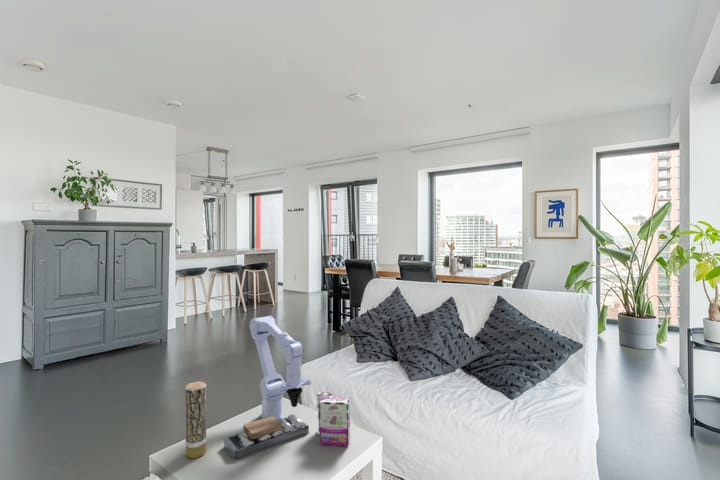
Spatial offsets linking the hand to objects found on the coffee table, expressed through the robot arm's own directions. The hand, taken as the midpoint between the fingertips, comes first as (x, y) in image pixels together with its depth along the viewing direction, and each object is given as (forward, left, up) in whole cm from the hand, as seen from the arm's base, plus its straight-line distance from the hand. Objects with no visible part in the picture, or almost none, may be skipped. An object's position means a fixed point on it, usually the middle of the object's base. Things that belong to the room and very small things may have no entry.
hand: (294, 405), depth 152 cm
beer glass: (+9, +9, -10) cm, 16 cm away
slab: (0, -13, -5) cm, 14 cm away
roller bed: (0, -12, -10) cm, 15 cm away
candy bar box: (+18, +8, -10) cm, 22 cm away
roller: (0, -21, -10) cm, 23 cm away
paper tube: (-7, -36, -10) cm, 38 cm away
